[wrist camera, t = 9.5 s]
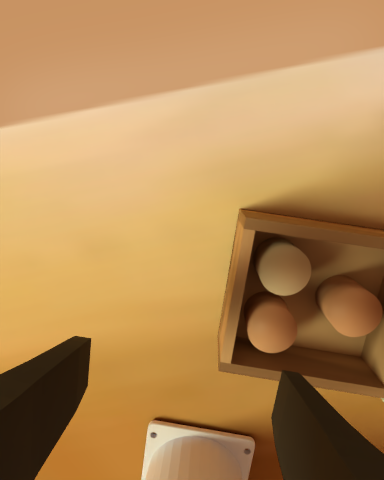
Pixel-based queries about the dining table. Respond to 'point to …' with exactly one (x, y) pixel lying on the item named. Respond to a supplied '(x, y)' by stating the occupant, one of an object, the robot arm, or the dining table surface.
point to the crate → (305, 303)
